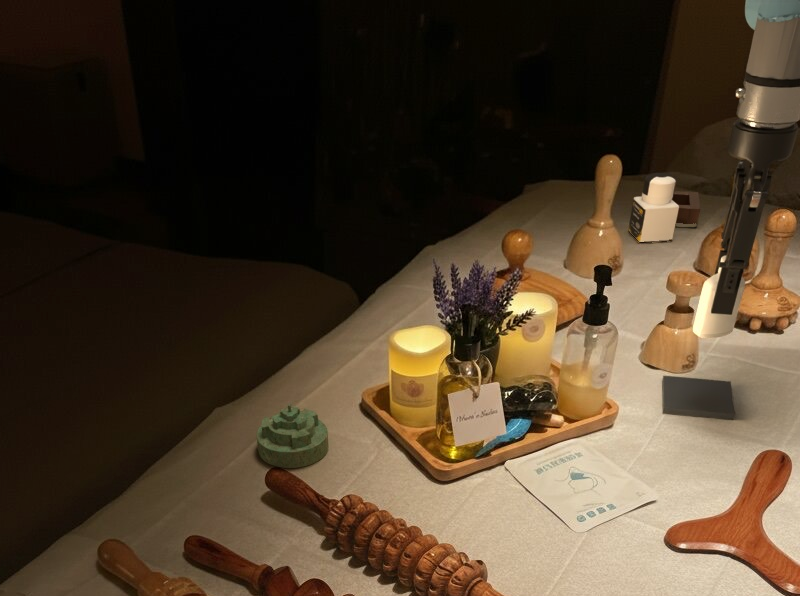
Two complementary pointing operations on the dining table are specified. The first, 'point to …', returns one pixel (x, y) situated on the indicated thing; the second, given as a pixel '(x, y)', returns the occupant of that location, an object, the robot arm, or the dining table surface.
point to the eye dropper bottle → (715, 323)
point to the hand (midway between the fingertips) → (720, 304)
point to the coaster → (697, 397)
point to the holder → (687, 206)
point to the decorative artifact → (292, 438)
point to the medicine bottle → (654, 209)
